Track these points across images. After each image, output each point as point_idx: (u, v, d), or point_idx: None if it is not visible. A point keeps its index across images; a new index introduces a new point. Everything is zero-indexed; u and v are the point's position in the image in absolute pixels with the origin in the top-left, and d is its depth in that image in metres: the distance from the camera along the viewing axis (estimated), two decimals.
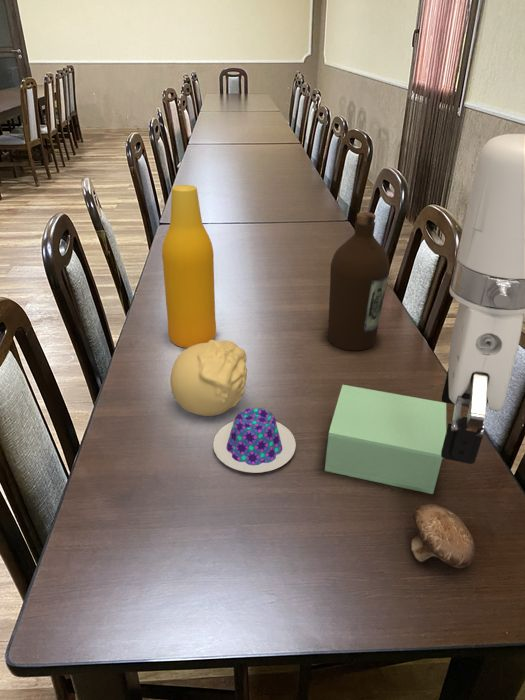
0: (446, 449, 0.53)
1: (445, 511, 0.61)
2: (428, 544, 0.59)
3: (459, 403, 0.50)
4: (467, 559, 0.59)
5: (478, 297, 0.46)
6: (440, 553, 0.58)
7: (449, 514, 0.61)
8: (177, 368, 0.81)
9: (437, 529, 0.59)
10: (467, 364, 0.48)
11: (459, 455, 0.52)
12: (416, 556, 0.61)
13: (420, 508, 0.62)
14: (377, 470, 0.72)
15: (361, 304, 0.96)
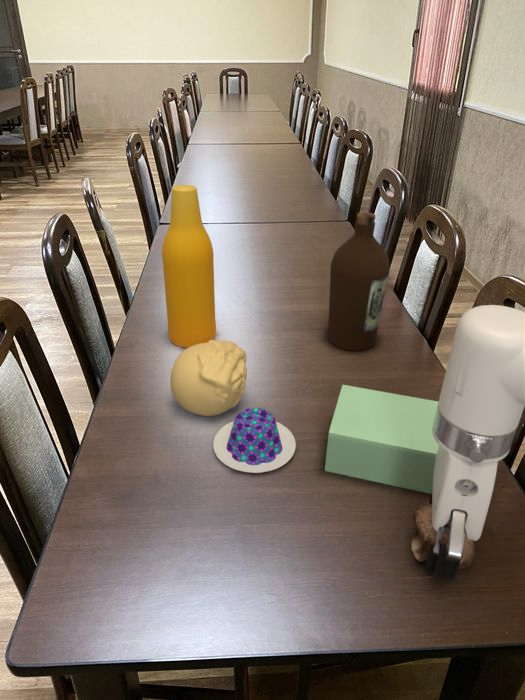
0: (429, 566, 0.59)
1: None
2: (428, 544, 0.59)
3: (440, 531, 0.56)
4: (467, 559, 0.59)
5: (456, 446, 0.51)
6: None
7: None
8: (177, 368, 0.81)
9: None
10: (447, 502, 0.53)
11: (440, 573, 0.58)
12: (416, 556, 0.61)
13: (420, 508, 0.62)
14: (377, 470, 0.72)
15: (361, 304, 0.96)
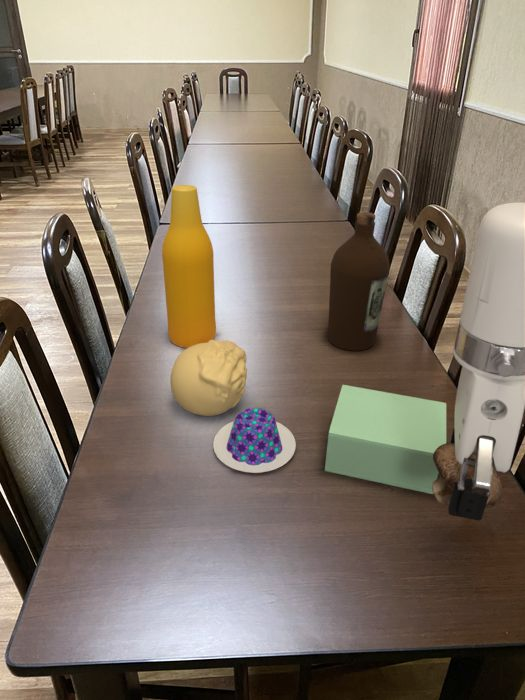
0: (453, 506, 0.54)
1: None
2: (451, 483, 0.54)
3: (465, 464, 0.51)
4: (495, 498, 0.54)
5: (482, 363, 0.46)
6: None
7: (473, 452, 0.56)
8: (177, 368, 0.81)
9: None
10: (473, 428, 0.48)
11: (466, 513, 0.53)
12: (438, 499, 0.56)
13: (441, 447, 0.57)
14: (377, 470, 0.72)
15: (361, 304, 0.96)
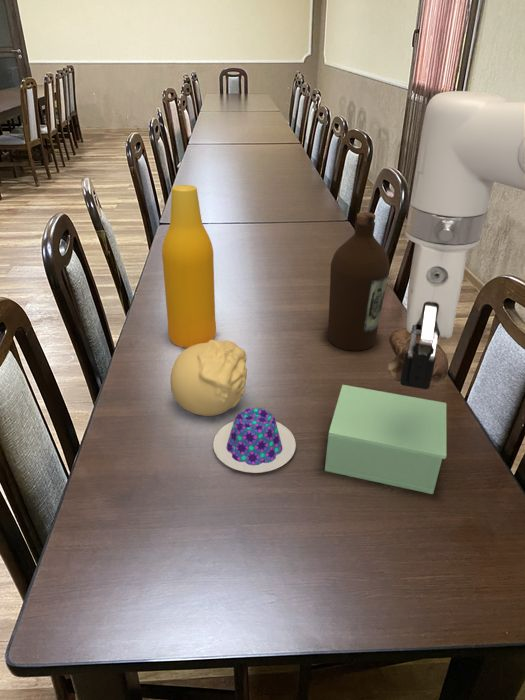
0: (404, 376, 0.61)
1: None
2: (403, 357, 0.61)
3: (414, 334, 0.58)
4: (441, 369, 0.61)
5: (427, 235, 0.53)
6: None
7: None
8: (177, 368, 0.81)
9: None
10: (419, 295, 0.55)
11: (415, 380, 0.60)
12: (392, 375, 0.63)
13: (396, 330, 0.64)
14: (377, 470, 0.72)
15: (361, 304, 0.96)
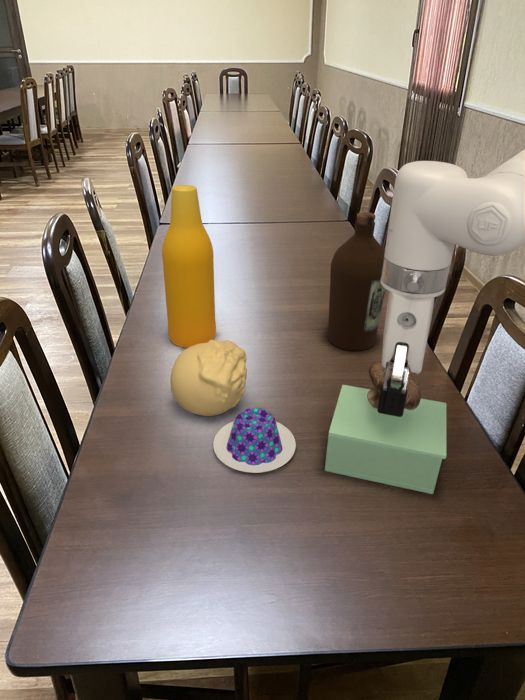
0: (380, 405, 0.68)
1: None
2: (379, 388, 0.68)
3: (388, 369, 0.65)
4: (413, 399, 0.68)
5: (398, 284, 0.61)
6: None
7: None
8: (177, 368, 0.81)
9: None
10: (392, 336, 0.62)
11: (390, 409, 0.67)
12: (371, 403, 0.71)
13: (375, 362, 0.71)
14: (377, 470, 0.72)
15: (361, 304, 0.96)
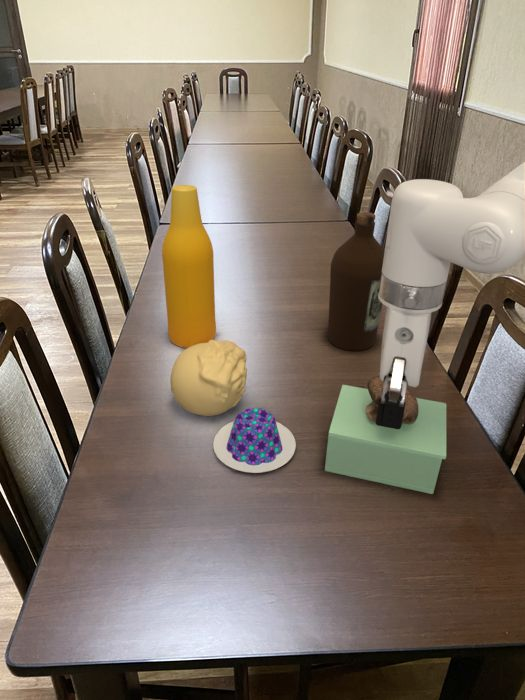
0: (379, 418, 0.68)
1: None
2: (378, 402, 0.70)
3: (386, 381, 0.66)
4: (411, 414, 0.69)
5: (395, 300, 0.62)
6: None
7: None
8: (177, 368, 0.81)
9: None
10: (389, 351, 0.63)
11: (388, 422, 0.67)
12: (369, 417, 0.72)
13: (373, 377, 0.73)
14: (377, 470, 0.72)
15: (361, 304, 0.96)
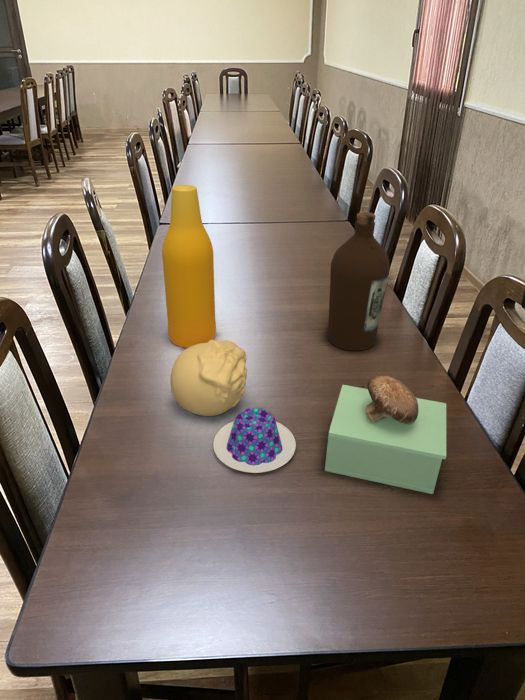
0: None
1: (394, 379, 0.72)
2: (378, 403, 0.70)
3: None
4: (411, 414, 0.69)
5: None
6: (388, 409, 0.69)
7: (398, 381, 0.72)
8: (177, 368, 0.81)
9: (386, 390, 0.70)
10: None
11: None
12: (369, 417, 0.72)
13: (373, 377, 0.73)
14: (377, 470, 0.72)
15: (361, 304, 0.96)
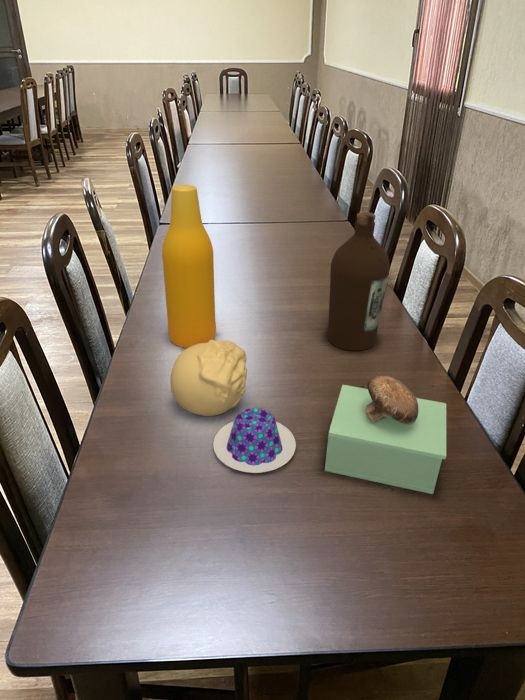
0: None
1: (394, 379, 0.72)
2: (378, 403, 0.70)
3: None
4: (411, 414, 0.69)
5: None
6: (388, 409, 0.69)
7: (398, 381, 0.72)
8: (177, 368, 0.81)
9: (386, 390, 0.70)
10: None
11: None
12: (369, 417, 0.72)
13: (373, 377, 0.73)
14: (377, 470, 0.72)
15: (361, 304, 0.96)
